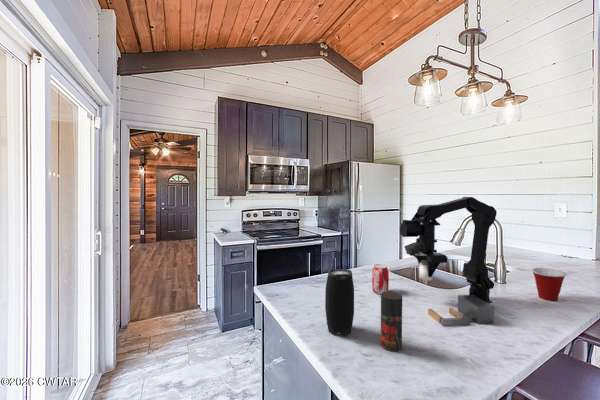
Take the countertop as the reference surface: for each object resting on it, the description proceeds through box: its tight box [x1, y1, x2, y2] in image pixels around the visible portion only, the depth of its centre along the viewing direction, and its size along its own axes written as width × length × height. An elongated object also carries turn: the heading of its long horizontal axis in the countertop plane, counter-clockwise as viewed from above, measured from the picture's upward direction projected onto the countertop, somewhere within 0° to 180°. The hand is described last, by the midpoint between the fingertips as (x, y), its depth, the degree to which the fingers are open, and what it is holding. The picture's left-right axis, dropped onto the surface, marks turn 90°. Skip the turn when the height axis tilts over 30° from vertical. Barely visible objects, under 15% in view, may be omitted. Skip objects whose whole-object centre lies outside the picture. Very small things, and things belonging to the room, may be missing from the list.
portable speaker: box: [324, 268, 355, 336], centre depth 87 cm, size 9×9×20 cm
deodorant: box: [380, 291, 403, 353], centre depth 78 cm, size 6×6×15 cm
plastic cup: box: [531, 267, 567, 302], centre depth 113 cm, size 11×11×12 cm
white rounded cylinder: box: [418, 260, 434, 282], centre depth 108 cm, size 5×5×7 cm
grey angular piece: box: [427, 294, 495, 327], centre depth 97 cm, size 19×12×6 cm, turn 95°
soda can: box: [371, 263, 390, 295], centre depth 120 cm, size 7×7×12 cm
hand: (426, 274), depth 108 cm, fingers closed on white rounded cylinder, 5 cm apart
